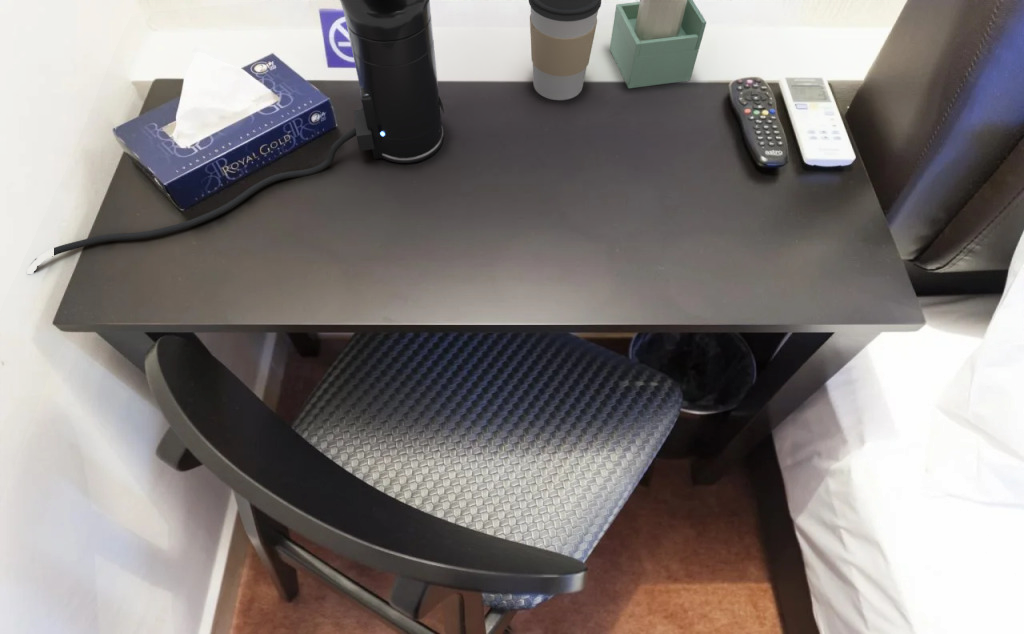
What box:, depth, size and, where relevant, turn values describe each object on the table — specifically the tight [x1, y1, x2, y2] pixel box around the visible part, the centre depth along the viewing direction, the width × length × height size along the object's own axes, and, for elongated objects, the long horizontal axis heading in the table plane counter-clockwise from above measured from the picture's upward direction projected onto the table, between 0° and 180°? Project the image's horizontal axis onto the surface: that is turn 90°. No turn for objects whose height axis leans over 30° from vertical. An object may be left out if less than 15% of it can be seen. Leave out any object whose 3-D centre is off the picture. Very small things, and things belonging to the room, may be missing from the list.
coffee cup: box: [528, 0, 602, 101], centre depth 87 cm, size 9×9×15 cm
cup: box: [634, 0, 687, 41], centre depth 88 cm, size 6×6×9 cm
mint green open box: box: [609, 0, 707, 89], centre depth 92 cm, size 9×9×9 cm
